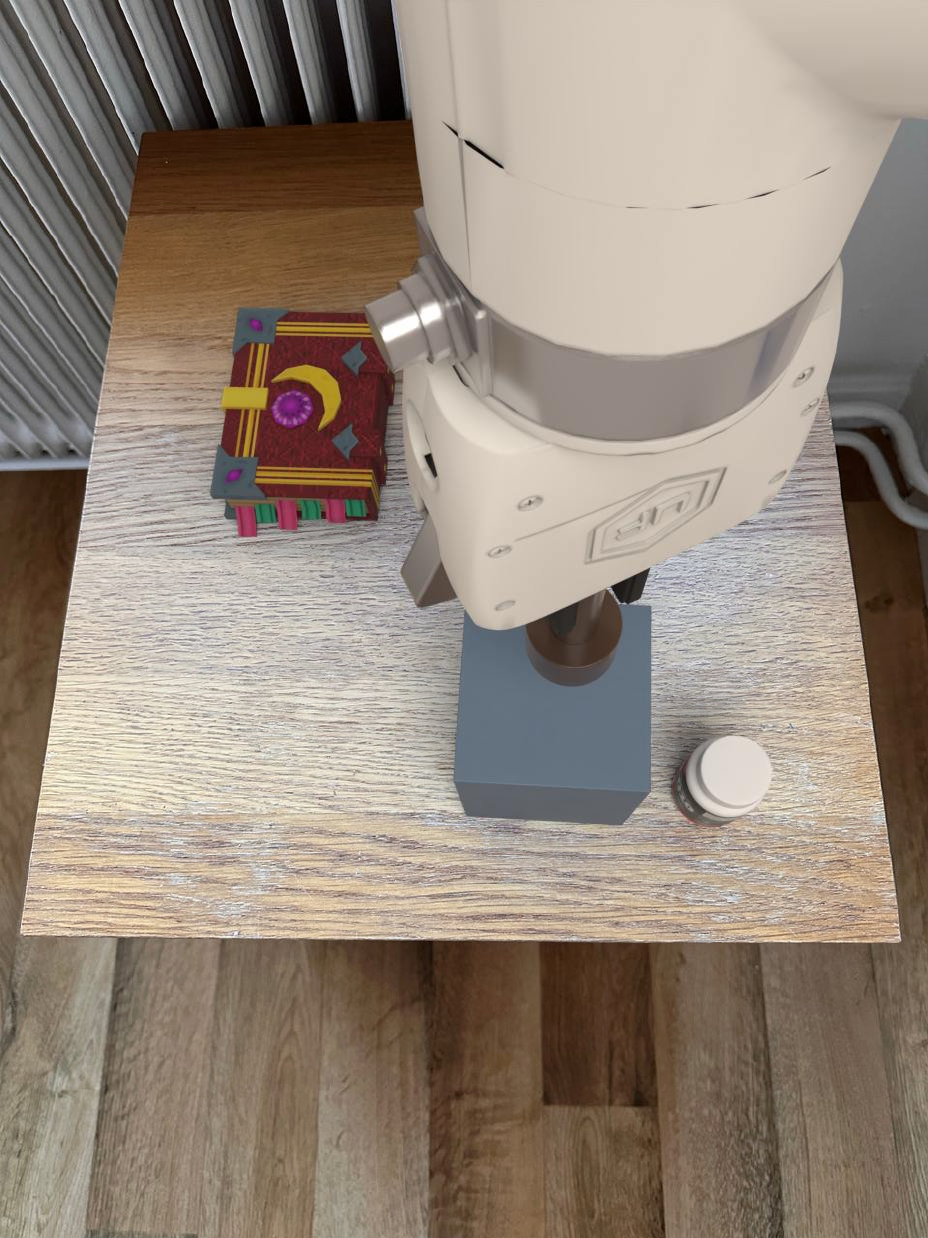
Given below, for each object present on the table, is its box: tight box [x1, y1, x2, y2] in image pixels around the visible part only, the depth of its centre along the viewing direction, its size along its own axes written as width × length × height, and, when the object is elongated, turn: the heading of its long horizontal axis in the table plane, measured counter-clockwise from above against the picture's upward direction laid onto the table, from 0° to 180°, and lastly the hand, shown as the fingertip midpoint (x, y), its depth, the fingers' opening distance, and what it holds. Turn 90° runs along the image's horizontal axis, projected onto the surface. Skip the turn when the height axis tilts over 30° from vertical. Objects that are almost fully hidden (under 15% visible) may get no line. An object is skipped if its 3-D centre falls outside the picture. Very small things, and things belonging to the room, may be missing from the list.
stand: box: [452, 603, 652, 826], centre depth 58 cm, size 10×10×14 cm
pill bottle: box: [671, 734, 773, 829], centre depth 59 cm, size 5×5×8 cm
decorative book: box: [209, 306, 396, 538], centre depth 70 cm, size 11×16×5 cm
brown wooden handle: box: [526, 588, 623, 687], centre depth 37 cm, size 4×4×13 cm
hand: (579, 582), depth 36 cm, fingers closed on brown wooden handle, 2 cm apart
